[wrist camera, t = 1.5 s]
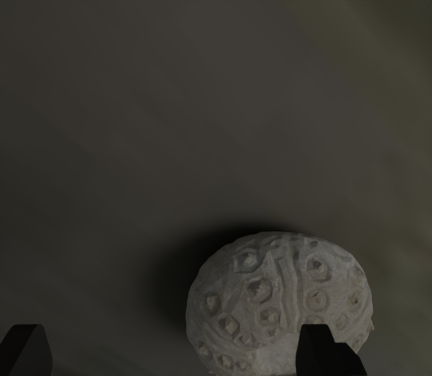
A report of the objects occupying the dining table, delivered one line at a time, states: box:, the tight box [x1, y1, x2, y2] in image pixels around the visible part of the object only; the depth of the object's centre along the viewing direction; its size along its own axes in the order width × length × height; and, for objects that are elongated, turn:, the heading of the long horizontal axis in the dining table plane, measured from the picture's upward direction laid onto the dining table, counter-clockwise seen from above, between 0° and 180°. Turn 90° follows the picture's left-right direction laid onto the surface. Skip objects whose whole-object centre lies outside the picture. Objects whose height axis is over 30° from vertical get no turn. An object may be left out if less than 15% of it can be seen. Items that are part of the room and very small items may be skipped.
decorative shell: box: [186, 231, 374, 376], centre depth 33 cm, size 18×18×10 cm
